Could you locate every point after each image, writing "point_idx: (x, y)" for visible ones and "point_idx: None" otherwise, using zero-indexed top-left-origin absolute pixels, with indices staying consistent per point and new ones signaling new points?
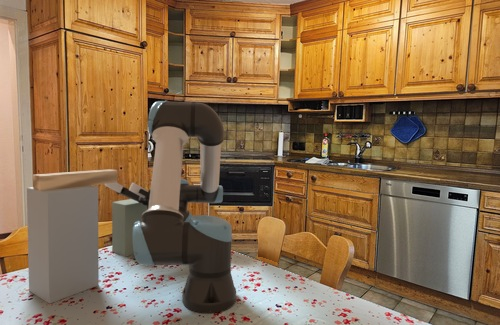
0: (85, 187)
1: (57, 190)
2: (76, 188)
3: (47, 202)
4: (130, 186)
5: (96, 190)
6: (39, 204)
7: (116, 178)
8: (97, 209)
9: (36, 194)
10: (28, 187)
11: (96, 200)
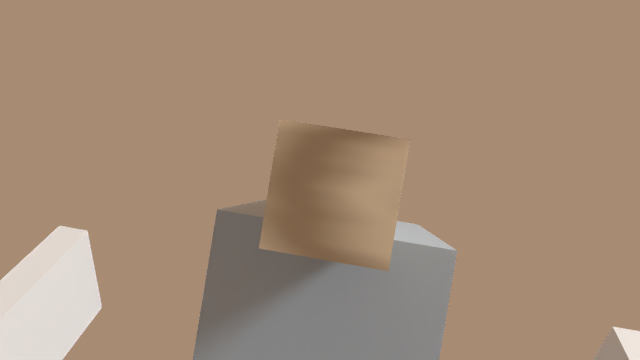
0: (259, 210)
1: None
2: None
3: None
4: (90, 272)
5: (216, 227)
6: None
7: (267, 204)
8: (197, 338)
9: None
10: (416, 224)
11: (208, 285)
